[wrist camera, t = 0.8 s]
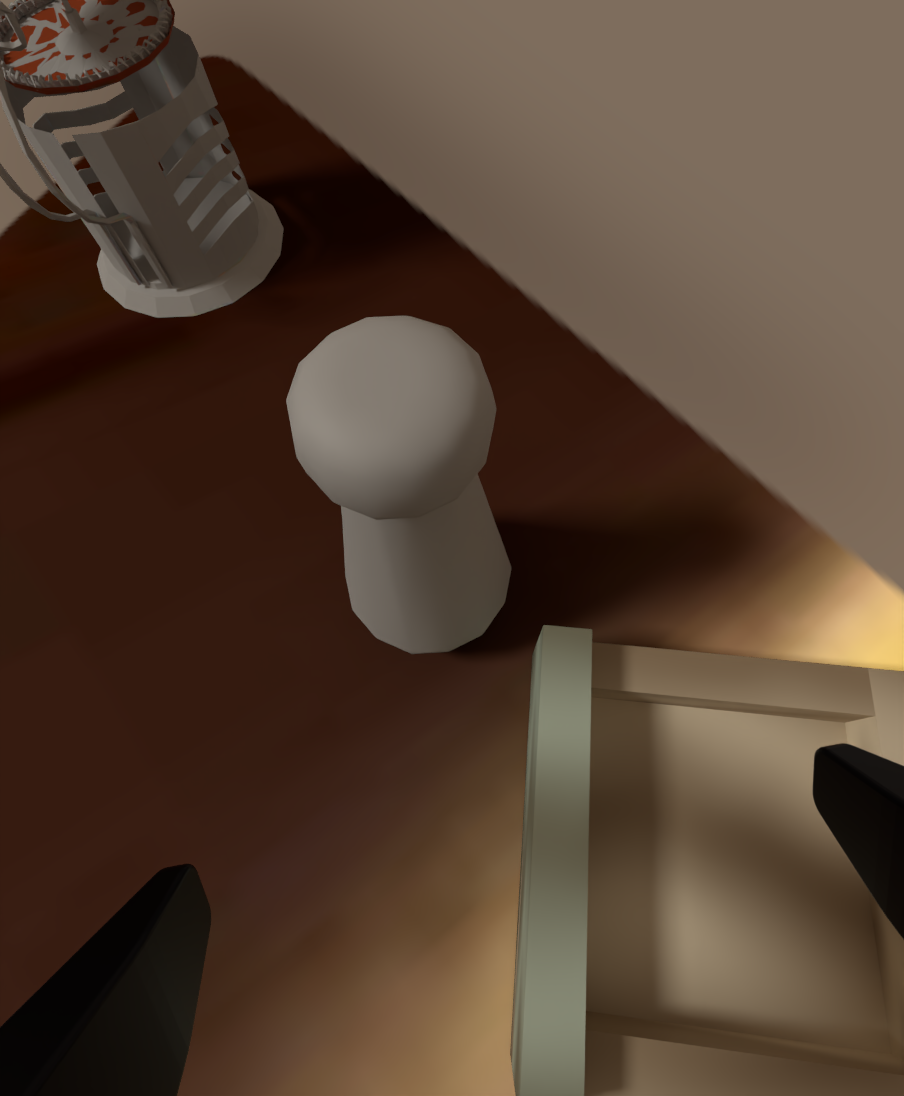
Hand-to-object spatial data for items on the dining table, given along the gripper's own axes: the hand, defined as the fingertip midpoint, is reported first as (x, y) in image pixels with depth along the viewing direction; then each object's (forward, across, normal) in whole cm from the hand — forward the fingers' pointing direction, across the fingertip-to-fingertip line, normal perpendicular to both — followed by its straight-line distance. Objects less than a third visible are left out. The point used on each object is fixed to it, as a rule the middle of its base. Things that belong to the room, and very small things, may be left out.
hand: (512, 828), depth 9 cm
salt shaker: (+15, +1, +2) cm, 15 cm away
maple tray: (+8, -7, +10) cm, 15 cm away
